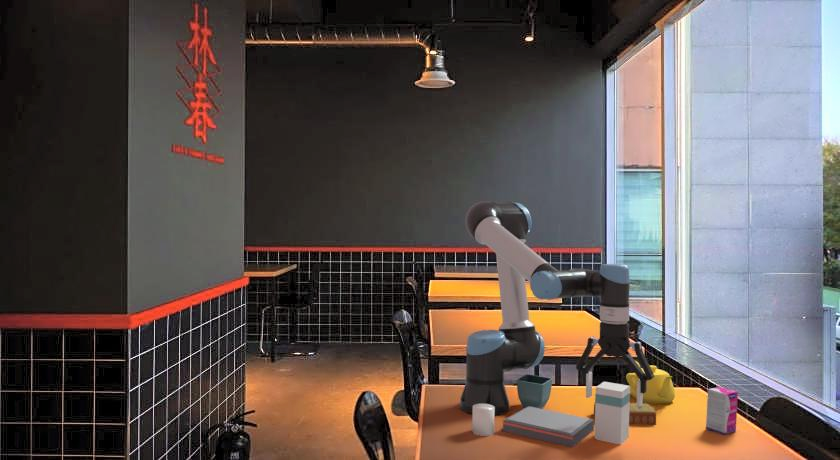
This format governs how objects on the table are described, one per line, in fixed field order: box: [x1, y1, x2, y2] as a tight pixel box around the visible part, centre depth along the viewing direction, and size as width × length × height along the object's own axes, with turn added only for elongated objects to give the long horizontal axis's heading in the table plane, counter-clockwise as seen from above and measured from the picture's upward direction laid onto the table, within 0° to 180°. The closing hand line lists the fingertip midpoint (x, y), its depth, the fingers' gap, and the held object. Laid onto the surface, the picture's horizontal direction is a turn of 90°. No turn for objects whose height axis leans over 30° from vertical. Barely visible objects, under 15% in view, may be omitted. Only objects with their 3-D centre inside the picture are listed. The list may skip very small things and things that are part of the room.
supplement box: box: [705, 386, 739, 435], centre depth 175 cm, size 6×6×12 cm
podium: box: [502, 406, 595, 448], centre depth 172 cm, size 20×16×3 cm
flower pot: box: [515, 373, 553, 409], centre depth 193 cm, size 9×9×9 cm
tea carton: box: [594, 381, 631, 446], centre depth 167 cm, size 7×7×14 cm
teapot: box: [625, 360, 676, 405], centre depth 204 cm, size 22×16×11 cm
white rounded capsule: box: [471, 404, 496, 437], centre depth 170 cm, size 6×6×7 cm
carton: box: [593, 402, 657, 426], centre depth 183 cm, size 8×16×4 cm, turn 86°
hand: (613, 400), depth 167 cm, fingers open, 13 cm apart
